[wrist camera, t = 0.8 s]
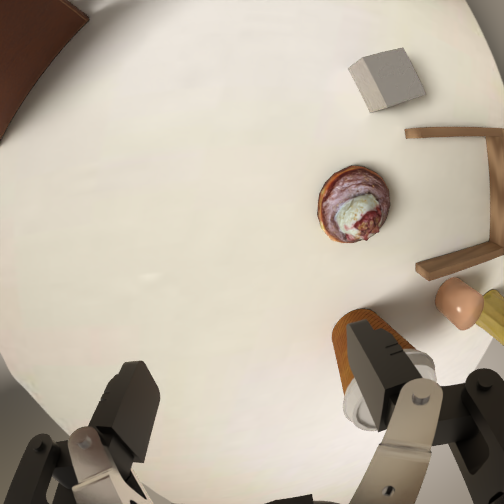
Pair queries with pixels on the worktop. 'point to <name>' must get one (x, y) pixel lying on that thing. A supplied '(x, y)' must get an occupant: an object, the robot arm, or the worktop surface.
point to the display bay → (500, 171)
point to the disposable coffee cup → (353, 397)
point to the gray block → (386, 79)
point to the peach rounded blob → (459, 303)
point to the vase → (493, 315)
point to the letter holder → (31, 46)
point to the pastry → (353, 204)
